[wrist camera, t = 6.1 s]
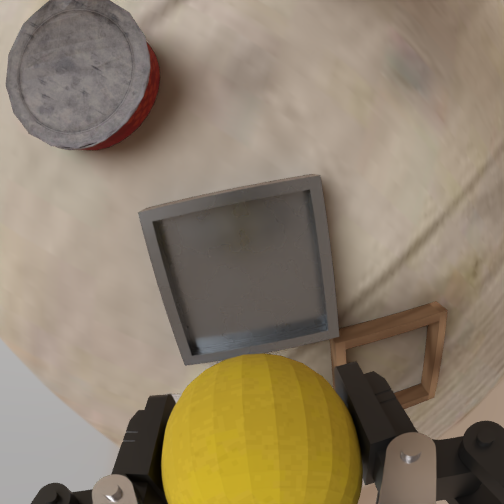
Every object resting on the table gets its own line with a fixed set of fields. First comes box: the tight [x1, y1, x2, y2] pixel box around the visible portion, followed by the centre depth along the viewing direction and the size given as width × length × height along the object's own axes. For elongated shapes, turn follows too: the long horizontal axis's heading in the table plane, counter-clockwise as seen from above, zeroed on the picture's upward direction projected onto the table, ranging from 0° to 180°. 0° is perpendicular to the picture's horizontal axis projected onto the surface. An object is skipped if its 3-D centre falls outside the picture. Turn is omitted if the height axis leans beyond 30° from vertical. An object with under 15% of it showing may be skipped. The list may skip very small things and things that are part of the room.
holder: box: [330, 301, 447, 409], centre depth 26 cm, size 11×11×2 cm
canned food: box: [6, 0, 160, 150], centre depth 16 cm, size 11×10×10 cm
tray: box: [138, 174, 339, 365], centre depth 22 cm, size 12×12×2 cm
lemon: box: [161, 353, 363, 504], centre depth 8 cm, size 6×6×8 cm
